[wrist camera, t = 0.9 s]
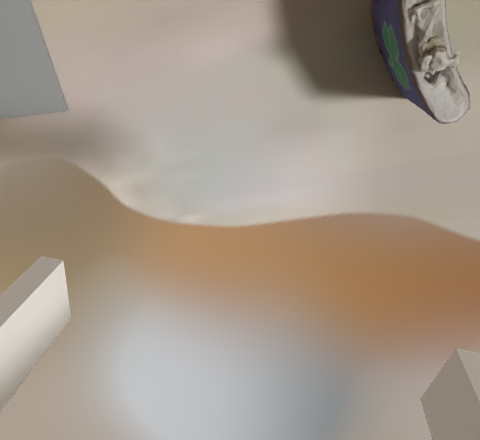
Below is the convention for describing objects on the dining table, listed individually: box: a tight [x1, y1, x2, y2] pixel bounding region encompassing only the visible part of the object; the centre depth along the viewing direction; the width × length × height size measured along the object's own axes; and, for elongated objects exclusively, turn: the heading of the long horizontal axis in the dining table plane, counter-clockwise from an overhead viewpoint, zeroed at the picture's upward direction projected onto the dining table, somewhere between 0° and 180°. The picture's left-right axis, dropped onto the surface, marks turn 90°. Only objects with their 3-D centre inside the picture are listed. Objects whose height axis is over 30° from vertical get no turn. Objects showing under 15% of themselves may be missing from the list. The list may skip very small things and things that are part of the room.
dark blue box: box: [372, 0, 470, 124], centre depth 25 cm, size 9×3×11 cm, turn 28°
